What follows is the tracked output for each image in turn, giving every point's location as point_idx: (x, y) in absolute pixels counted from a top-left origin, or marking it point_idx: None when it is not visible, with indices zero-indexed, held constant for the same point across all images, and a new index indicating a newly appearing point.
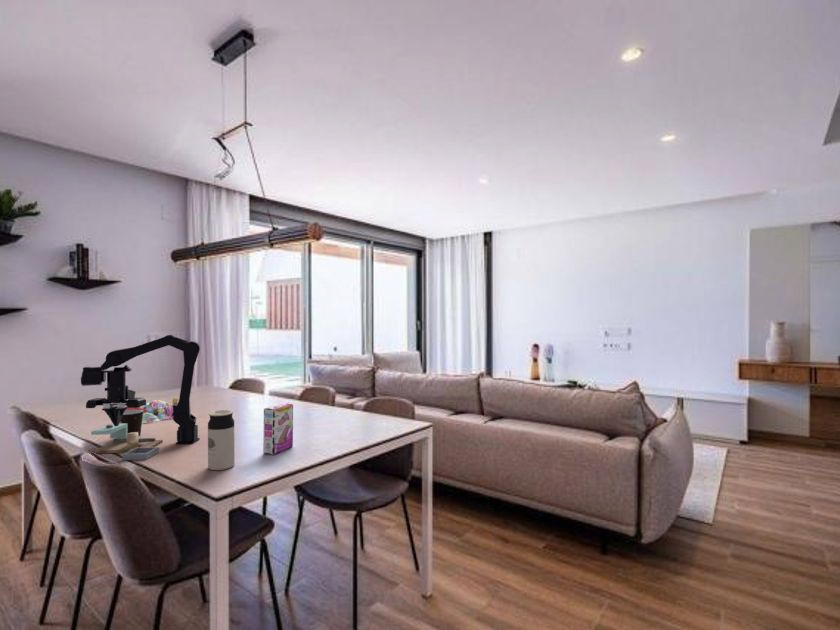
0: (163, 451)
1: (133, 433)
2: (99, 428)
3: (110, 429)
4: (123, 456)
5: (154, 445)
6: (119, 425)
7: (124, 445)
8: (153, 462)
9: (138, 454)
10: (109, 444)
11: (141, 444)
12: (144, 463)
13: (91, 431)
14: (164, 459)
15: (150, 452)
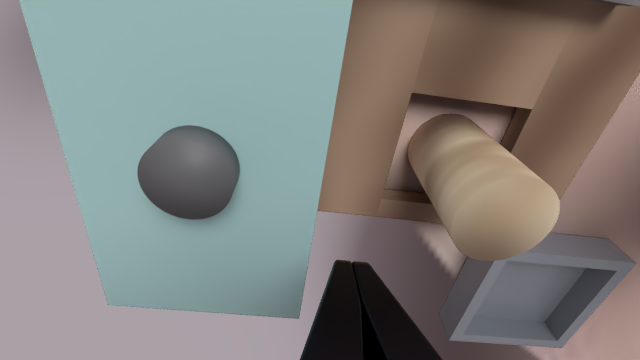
0: (635, 221)
1: (513, 227)
2: (87, 200)
3: (284, 266)
4: (449, 330)
5: (601, 117)
6: (288, 49)
7: (377, 112)
8: (572, 347)
9: (524, 343)
10: None
11: (508, 104)
12: (537, 352)
13: (110, 302)
14: (619, 325)
15: (579, 320)
